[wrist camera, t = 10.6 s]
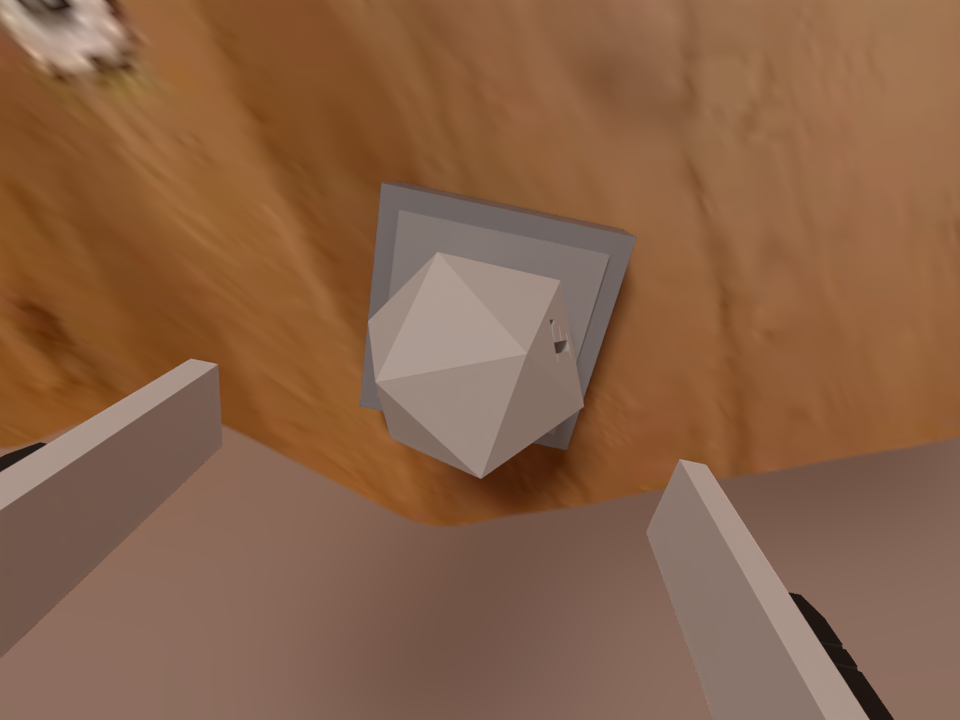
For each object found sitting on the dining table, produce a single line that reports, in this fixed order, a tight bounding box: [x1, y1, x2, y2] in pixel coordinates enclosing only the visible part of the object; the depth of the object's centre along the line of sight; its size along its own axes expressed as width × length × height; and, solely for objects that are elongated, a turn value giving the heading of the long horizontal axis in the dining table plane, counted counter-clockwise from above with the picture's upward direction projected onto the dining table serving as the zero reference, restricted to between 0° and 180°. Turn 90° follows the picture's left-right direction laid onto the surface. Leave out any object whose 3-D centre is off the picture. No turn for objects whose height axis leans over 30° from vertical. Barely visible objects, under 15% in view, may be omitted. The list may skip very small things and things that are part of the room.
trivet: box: [360, 182, 637, 450], centre depth 24 cm, size 12×12×3 cm
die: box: [368, 252, 584, 479], centre depth 19 cm, size 8×9×10 cm
